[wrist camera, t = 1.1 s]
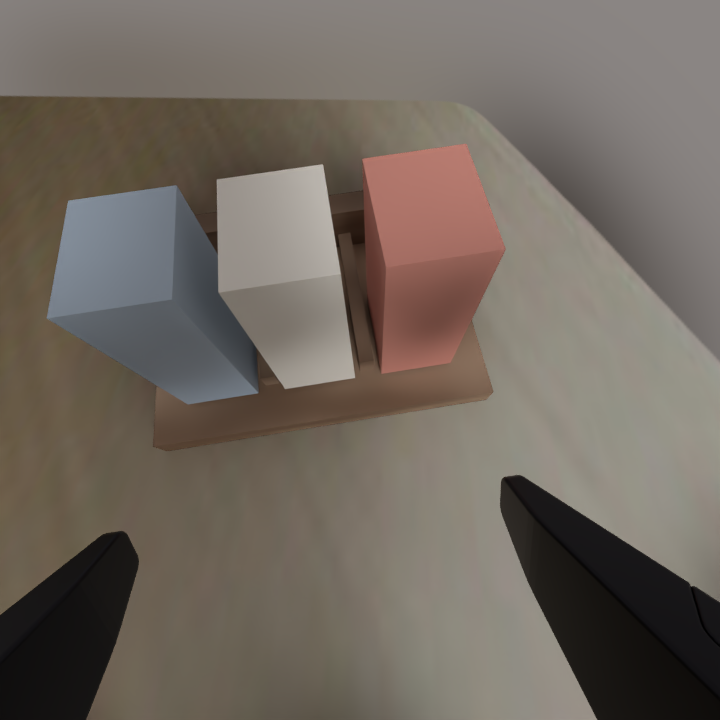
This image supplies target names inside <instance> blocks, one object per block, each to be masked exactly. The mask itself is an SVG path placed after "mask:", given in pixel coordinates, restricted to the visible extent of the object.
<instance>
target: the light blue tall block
mask: <svg viewBox="0 0 720 720" xmlns="http://www.w3.org/2000/svg"><path fill="white" fill-rule="evenodd" d="M47 319H49V320H50V321H52V322H54V323H55V324H57V325H58V326H60V327H62V328H63V329H65V330H67V331H68V332H70V333H72V334H73V335H75V336H76V337H78V338H80V339H81V340H83V341H85V342H86V343H88V344H90V345H91V346H93V347H94V348H96V349H98V350H99V351H101V352H103V353H104V354H106V355H108V356H109V357H111V358H112V359H114V360H116V361H117V362H119V363H121V364H122V365H124V366H126V367H127V368H129V369H131V370H132V371H134V372H135V373H137V374H139V375H140V376H142V377H144V378H145V379H147V380H149V381H150V382H152V383H153V384H155V385H157V386H158V387H160V388H162V389H163V390H165V391H167V392H168V393H170V394H171V395H173V396H175V397H176V398H178V399H180V400H181V401H183V402H185V403H186V404H194V403H200V402H207V401H213V400H219V399H225V398H232V397H238V396H244V395H251V394H257V393H259V388H258V370H257V352H256V346H255V345H254V343H253V342H252V340H251V339H250V338H249V336H248V335H247V333H246V332H245V330H244V329H243V327H242V326H241V325H240V323H239V322H238V320H237V319H236V317H235V316H234V314H233V313H232V312H231V310H230V309H229V307H228V306H227V304H226V303H225V301H224V300H223V299H222V297H221V296H220V294H219V293H218V254H217V252H216V251H215V249H214V247H213V246H212V244H211V242H210V241H209V239H208V237H207V235H206V234H205V232H204V230H203V229H202V227H201V225H200V224H199V222H198V220H197V219H196V217H195V215H194V214H193V212H192V210H191V209H190V207H189V205H188V204H187V202H186V200H185V198H184V197H183V195H182V193H181V192H180V190H179V188H178V187H177V185H175V186H168V187H161V188H154V189H147V190H140V191H133V192H126V193H119V194H112V195H105V196H98V197H91V198H84V199H77V200H70V201H68V206H67V211H66V216H65V222H64V227H63V233H62V238H61V244H60V249H59V255H58V260H57V266H56V271H55V277H54V282H53V288H52V293H51V298H50V304H49V309H48V315H47Z"/></svg>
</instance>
